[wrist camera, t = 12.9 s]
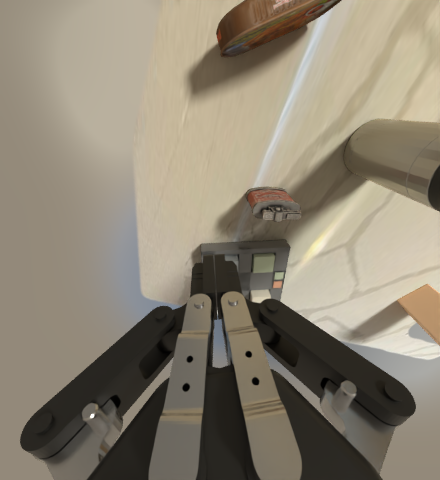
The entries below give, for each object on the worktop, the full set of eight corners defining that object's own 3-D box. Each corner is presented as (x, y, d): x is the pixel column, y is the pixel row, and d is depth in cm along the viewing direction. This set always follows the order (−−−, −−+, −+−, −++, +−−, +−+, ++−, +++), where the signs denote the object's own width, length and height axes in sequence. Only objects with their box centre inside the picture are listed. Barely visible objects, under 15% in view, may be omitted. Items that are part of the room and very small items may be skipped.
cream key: (268, 288, 52) (270, 296, 50) (266, 300, 54) (269, 308, 52) (250, 289, 52) (252, 297, 50) (249, 302, 54) (251, 309, 52)
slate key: (236, 254, 46) (238, 261, 44) (236, 269, 48) (237, 277, 46) (216, 255, 46) (217, 262, 44) (217, 270, 48) (217, 278, 46)
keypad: (285, 239, 47) (290, 247, 45) (275, 297, 57) (279, 306, 55) (201, 243, 47) (200, 252, 44) (205, 301, 57) (205, 311, 54)
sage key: (272, 249, 47) (275, 256, 45) (269, 265, 49) (272, 272, 47) (252, 250, 47) (254, 257, 45) (251, 266, 49) (253, 273, 47)
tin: (219, 63, 30) (224, 49, 23) (212, 35, 29) (214, 11, 22) (324, 17, 28) (364, -13, 21) (322, -16, 27) (365, -61, 20)
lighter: (245, 203, 42) (254, 227, 34) (246, 186, 40) (257, 207, 32) (284, 203, 43) (304, 226, 34) (287, 186, 41) (309, 207, 32)
